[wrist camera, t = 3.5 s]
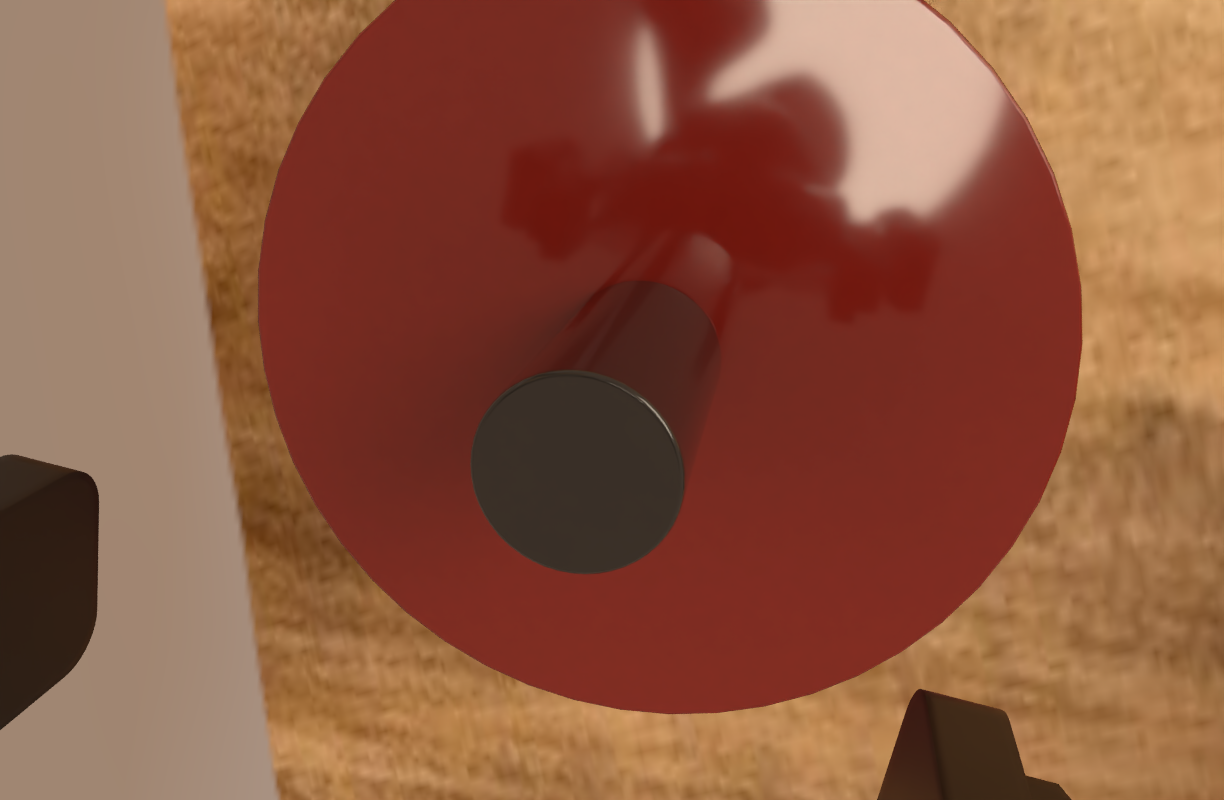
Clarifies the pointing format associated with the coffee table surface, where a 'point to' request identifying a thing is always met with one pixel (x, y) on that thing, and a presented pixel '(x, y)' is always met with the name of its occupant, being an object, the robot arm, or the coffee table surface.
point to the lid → (670, 334)
